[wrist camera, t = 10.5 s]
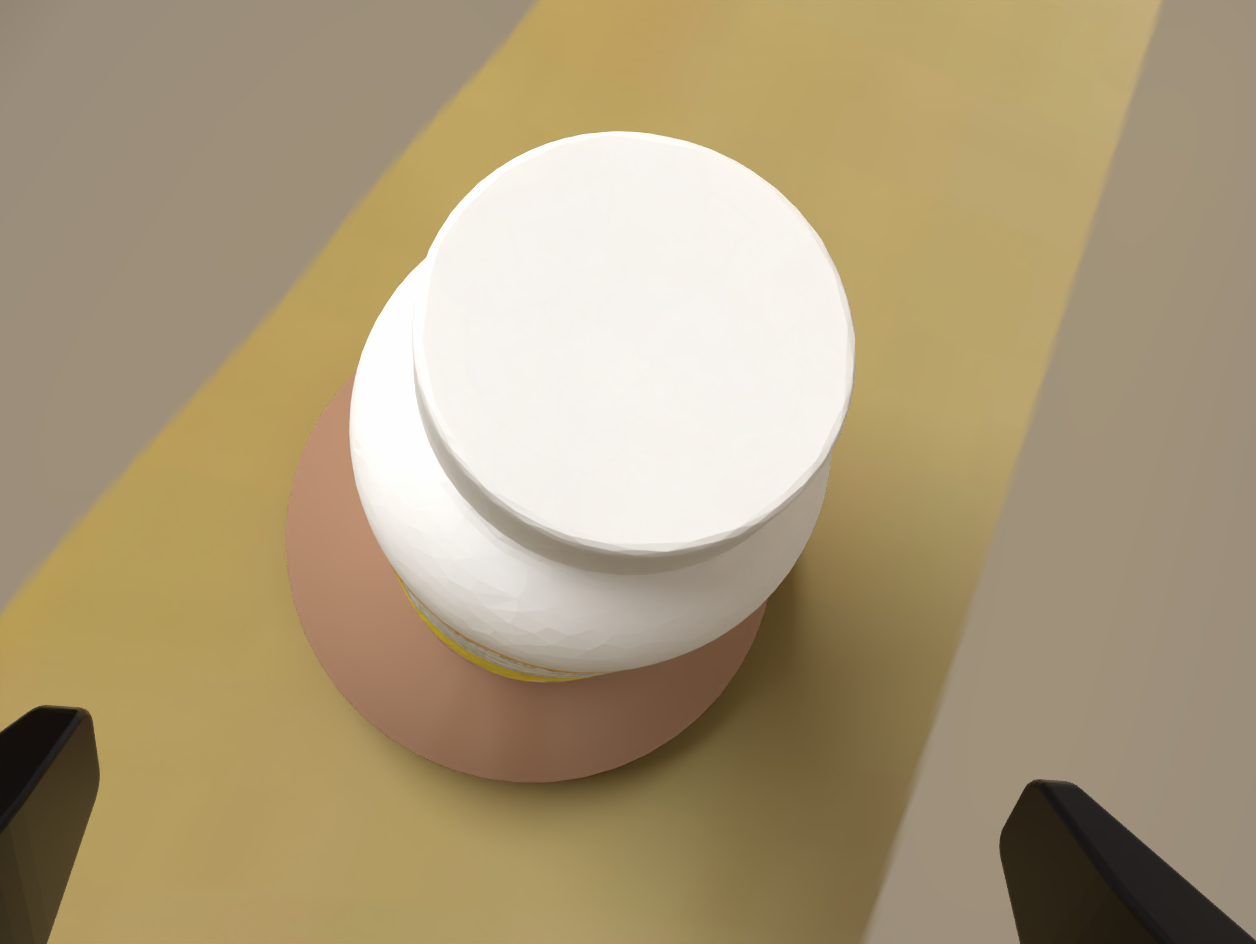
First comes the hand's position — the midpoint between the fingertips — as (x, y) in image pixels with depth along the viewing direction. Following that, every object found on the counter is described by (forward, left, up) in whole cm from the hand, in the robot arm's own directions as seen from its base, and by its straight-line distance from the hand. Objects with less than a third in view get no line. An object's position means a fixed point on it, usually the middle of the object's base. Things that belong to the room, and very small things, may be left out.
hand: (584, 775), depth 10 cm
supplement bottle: (+4, 0, -13) cm, 13 cm away
